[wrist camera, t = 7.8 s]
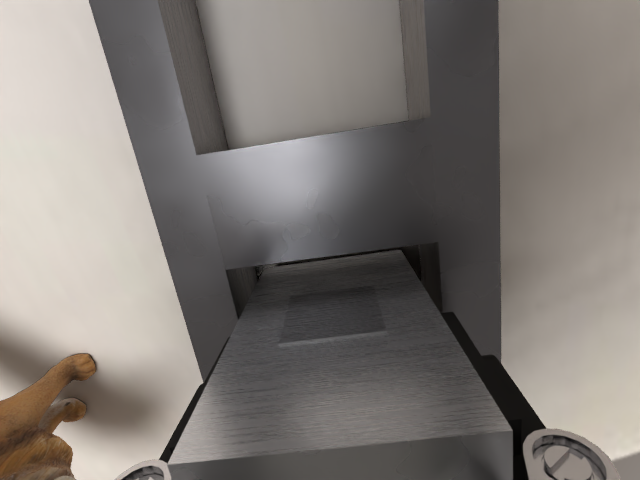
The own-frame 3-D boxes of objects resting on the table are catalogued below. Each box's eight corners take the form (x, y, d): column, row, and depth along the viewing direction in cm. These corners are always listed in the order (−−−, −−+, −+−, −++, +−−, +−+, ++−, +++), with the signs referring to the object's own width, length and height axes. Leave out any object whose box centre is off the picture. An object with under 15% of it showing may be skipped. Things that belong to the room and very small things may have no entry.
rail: (448, -204, 10) (495, -346, 7) (471, 393, 15) (501, 454, 12) (109, -121, 10) (23, -215, 8) (250, 413, 16) (231, 474, 13)
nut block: (400, 248, 12) (513, 427, 5) (412, 368, 14) (512, 655, 6) (264, 267, 13) (165, 462, 5) (288, 382, 14) (241, 670, 7)
